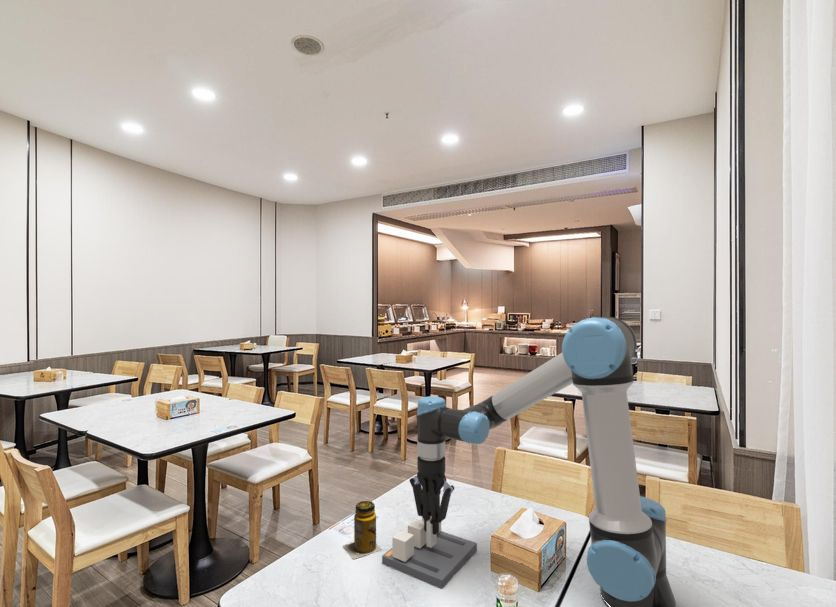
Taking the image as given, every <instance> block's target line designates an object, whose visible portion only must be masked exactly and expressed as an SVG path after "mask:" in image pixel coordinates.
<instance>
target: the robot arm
mask: <svg viewBox="0 0 836 607" xmlns="http://www.w3.org/2000/svg"><path fill="white" fill-rule="evenodd" d="M637 345H638V343H637V337H636V334H635V331H634V330H633V328H632V327H631V326H630V325H629V324H628V323H626V322H625V321H623V320H622V319H620V318H617V317H613V316H601V317H600V316H599V317H593V316H592V317H589V318H584V319H581V320H580V321H578V322H577V323H575V324H574V325H572V326H571V327H570V328H569V329H568V331H567V332H566V333H565V335H564V337H563V340H562V345H561V352H560V353H559V354H557V355H556V356H554V357H552V358H550V359H549V360H548V361H546V362H545V363H543V364H541V365H540V366H538V367H536V368H535V369H532V371H530V372H528V373H527V374H525V375H523V376H522V377H520V378H518V379H517V380H515V381H514V382H512V383H510V384H509V385H507V386H505V387H504V388H502V389H500V390H499V391H497V392H496V393H495V394H492V395H491V396H490V397H488V398H486V399H484V400H483V401H481V402H479V403H476V404H475V405H471V406H469V407H467V408H464V409H456V408H450V407H447V404H446V400H445V399H444V398H443V397H440V396H432V395H431V396H424V397H421V398H420V399H418V401H417V412H416V421H417V422H416V423H417V438H416V439H417V440H416V441H417V444H416V447H417V448H416V450H417V451H416V454H417V459H416V460H417V462H416V465H417V467H416V468H417V469H416V470H417V473H416V475H415V476H413V477H411V478H409V483H410V485H411V488H412V492H413V496H414V502H415V509H416V511H417V512H416V513H417V516H419V517H421V518H422V517H423V519H424V530H425V531H426V532H427V546H428V547H430V548H432V547H433V546H434V545H435V544H436V543H437V533H438V532H439V523H440V522H441V523H442V522H443V521H444V520H446V518H447V515H448V514H447V513H448V510H449V504H450V500H451V497H452V493H453V491H454V490H455V486H454V485H453V484H452V485H450V484H449V482H448V481H447V477H446V457H445V456H446V439H451V440H456V441H459V442H464V443H467V444H476V445H482V444H483V443H485V442H486V439H488V436H489V434H490V430H493V429H495V428H497V427H499V426H501V425H502V424H503V423H504V422H507V421H508V420H510V419H512V418H513V417H515V416H517V415H519V414H520V413H522V412H524V411H526V410H527V409H529V408H531V407H533V406H535V405H537V404H539V403H540V402H543V400H546V399H547V398H549V397H551V396H552V395H553V396H554V395H555V394H556V393H558V392H560V391H562V390H564V389H565V388H567V387H569V386H571V385H573V386H574V387H575V388H576V389H578V391H580V393H581V398H582V407H583V408H582V409H583V415H584V423H585V433H586V434H585V435H586V440H587V441H586V442H587V449H588V450H587V451H588V457H589V466H590V473H591V481H592V491H593V500H594V507H595V508H594V509H592V511H591V512H589V514H588V522H589V523H588V525H589V530H590V531H589V532H590V533H589V534H590V542H591V544H590V546H588V548H587V549H588V550H587V555H586V565H587V569H588V571H589V574H590V576H591V577H592V579H593V581H594V582H595V583H596V584H597V585H598V586H600V588H599V589H600V591H601V593H600V596H601V595H602V597H603V598H604V600H605V601H606V602H607V603H608V604H609V605H610V606H611V607H677V606H676V603H677V602H676V598H675V596H674V593H673V591H672V587H671V585H670V584H671V583H670V581H669V579H668V576H667V528H666V527H667V526H666V524H667V523H666V522H668V520H667V516H666V509H665V507H664V506H663V505H662V504H661V503H660V502H657V501H656V500H654V499H652V498H648V497H646V496H642V495H641V494H640V488H639V479H638V471H637V462H636V455H635V454H636V453H635V447H634V438H633V431H632V425H631V424H632V423H631V415H630V407H629V401H628V389H629V388H631V386H632V385H633V384H634V373H633V365H632V363H633V362H632V359H633V357H634V356H635V353H636V351H637ZM442 488H443V490H442ZM441 492H442V493H441ZM441 494H442V495H441ZM441 496H442V497H441ZM602 597H601V598H602Z"/></svg>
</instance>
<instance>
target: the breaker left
mask: <svg viewBox="0 0 836 607" xmlns="http://www.w3.org/2000/svg"><path fill="white" fill-rule="evenodd" d="M391 538H392V544H391V545H392V546H391V547H392V557H394V558H397V559H399V560H402V561H404V562H406V561H407V560H408V559H409V558H410V557H411V556H412V555H414V535H413V534H410V533H408V531H404V530H400V531H399V532H397V533H396V534H395V535H394V536H392V537H391Z"/></svg>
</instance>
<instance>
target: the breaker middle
mask: <svg viewBox="0 0 836 607" xmlns="http://www.w3.org/2000/svg"><path fill="white" fill-rule="evenodd" d="M407 533H410V534H413V535H414V546H415V547H417V548H421V547H422V546H424V545H425V544H426V543H427V532H426V531H425V530H424V522H423V521H422V520H420V519H414V520H413V521H412V522H410V523H409V524H408V525H407Z"/></svg>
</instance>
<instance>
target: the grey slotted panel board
mask: <svg viewBox="0 0 836 607" xmlns="http://www.w3.org/2000/svg"><path fill="white" fill-rule="evenodd" d="M477 551H478V543H477V542H476V541H472V540H469V539H466V538H463V537H460V536H457V535H454V534H452V533H449V532H446V531H443V530H441V531H440V532H439V533H438V534H437V543H436V544H435V545H434V546H433V547H432V548H430V547H428V546H427V543H426V544H425V545H424V546H422V547H421V548H417V547H415V546H414V555H412V556H411V557H410V558H409V559H408V560H407V561H406V562H404V561H402V560H399V559H397V558H394V557H392V548H389V550H387V551H386V552H385V553H384V554H383V555H381V564H382V565H384V566H387V567H390V568H392V569H394V570H396V571H398V572H401V573H403V574H406V575H408V576H411V577H413V578H415V579H417V580H420V581H423V582H424V583H427V584H429V585H431V586H434V587H436V588H439V589H442V590H443V588H444V587H445V586H446V585H447V584H448V583H449V582H450V580H452V578H453V577H454V576H455V575H456V574H457V573H458V572H459V570H460V569H462V568H463V567H464V566H465V564H466V563H467V562H468V561H469V560H470V559H471V557H473V555H474V554H476V552H477Z"/></svg>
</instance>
